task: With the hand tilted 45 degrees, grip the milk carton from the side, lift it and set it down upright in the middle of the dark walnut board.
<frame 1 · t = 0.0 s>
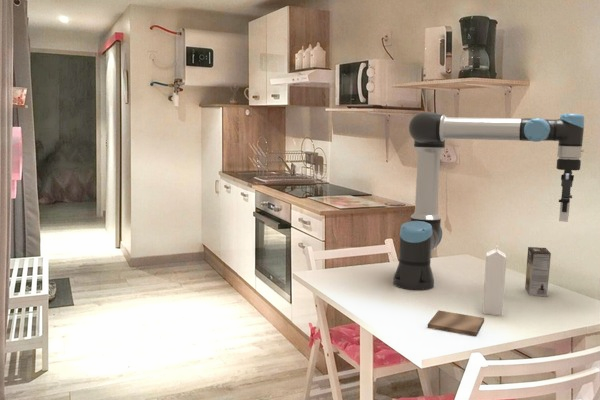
hand: (563, 218, 197), 28 cm above the table, tool pointing down, fingers open, 13 cm apart
milk: (492, 312, 181), on the table
walnut board: (456, 324, 168), on the table
coffee box: (535, 293, 204), on the table
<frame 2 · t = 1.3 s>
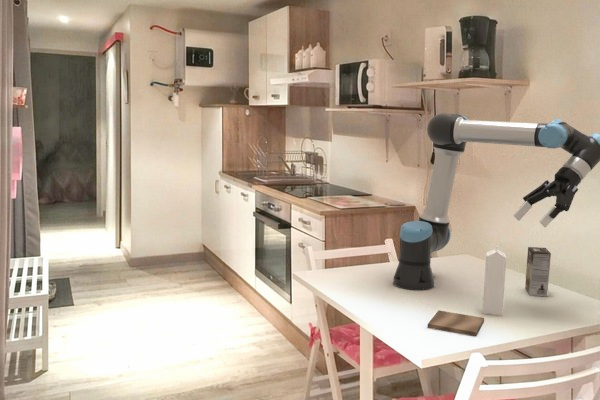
hand: (528, 221, 180), 30 cm above the table, tool tilted 45°, fingers open, 13 cm apart
nothing on the table moved.
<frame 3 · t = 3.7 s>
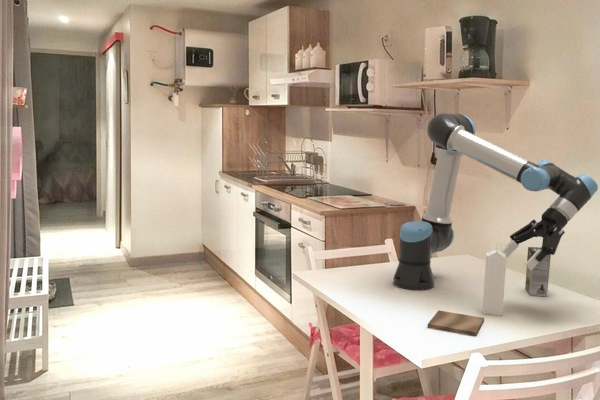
hand: (514, 262, 179), 17 cm above the table, tool tilted 45°, fingers open, 13 cm apart
nothing on the table moved.
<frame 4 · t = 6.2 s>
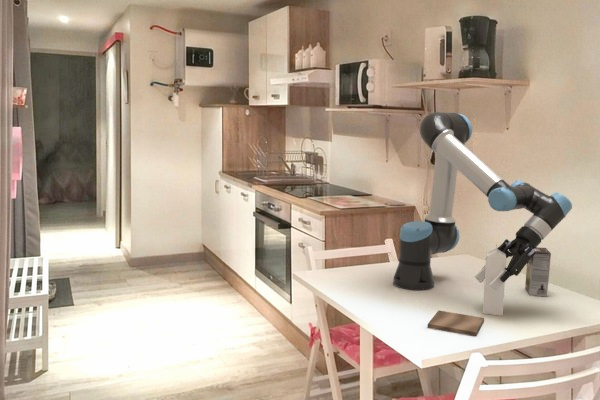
hand: (485, 283, 179), 10 cm above the table, tool tilted 45°, fingers closed on milk, 8 cm apart
milk: (492, 312, 181), on the table, touching gripper
everything else where it was.
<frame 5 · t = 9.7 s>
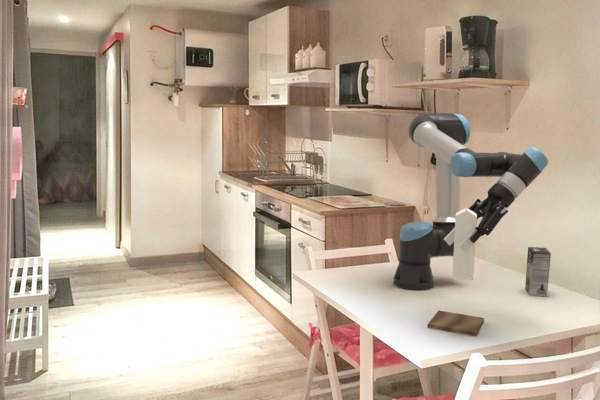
hand: (454, 245, 165), 25 cm above the table, tool tilted 45°, fingers closed on milk, 8 cm apart
milk: (462, 277, 167), point 15 cm above the table, touching gripper
everything else where it was.
when the fingers open (13 cm above the table, at t = 13.1 s): milk drops 2 cm, resting on walnut board.
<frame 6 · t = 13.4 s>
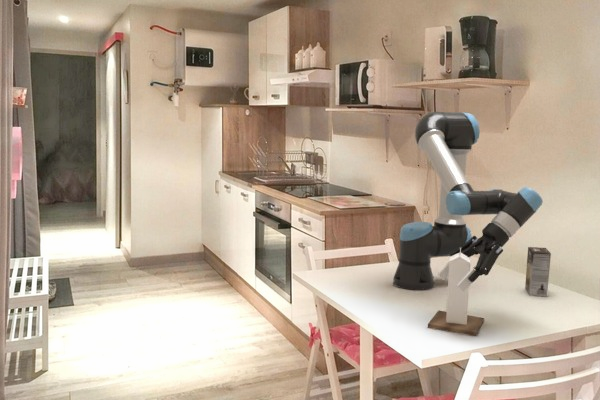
hand: (450, 282, 166), 13 cm above the table, tool tilted 45°, fingers open, 11 cm apart
milk: (456, 321, 168), point 1 cm above the table, touching walnut board
everything else where it was.
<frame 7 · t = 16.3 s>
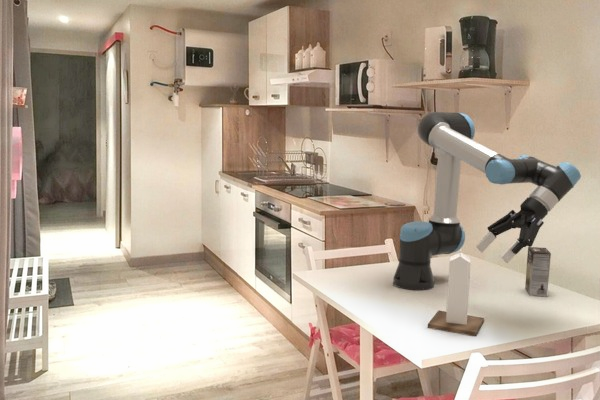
hand: (490, 254, 168), 21 cm above the table, tool tilted 45°, fingers open, 13 cm apart
nothing on the table moved.
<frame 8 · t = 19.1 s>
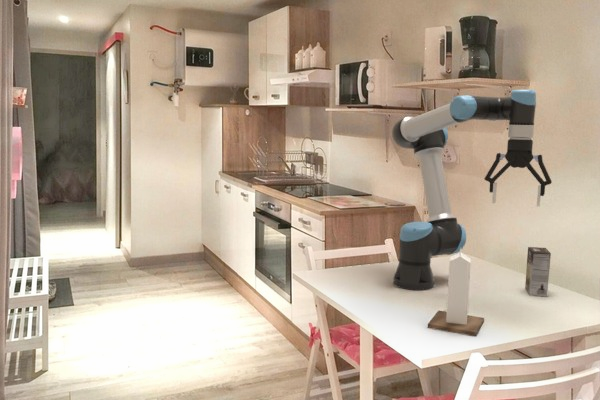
hand: (515, 204, 182), 35 cm above the table, tool pointing down, fingers open, 13 cm apart
nothing on the table moved.
at the end: milk inside the target area on the walnut board (0.2 cm from its centre), point 1.0 cm above the walnut board's base; milk tilted 0°; the gripper is holding nothing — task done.
